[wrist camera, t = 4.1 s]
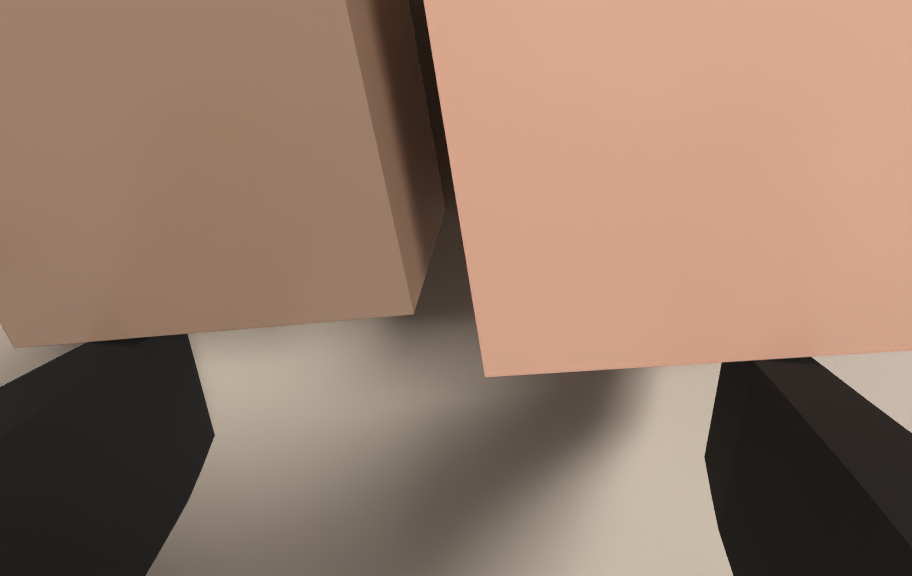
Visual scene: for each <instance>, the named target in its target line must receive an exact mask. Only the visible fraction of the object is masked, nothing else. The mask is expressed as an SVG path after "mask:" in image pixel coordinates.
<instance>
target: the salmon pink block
mask: <svg viewBox="0 0 912 576" xmlns="http://www.w3.org/2000/svg"><path fill="white" fill-rule="evenodd" d="M423 1H424V7H425V13H426V19H427V25H428V31H429V37H430V44H431V50H432V56H433V62H434V68H435V74H436V80H437V86H438V93H439V99H440V105H441V111H442V117H443V123H444V129H445V135H446V142H447V148H448V154H449V160H450V166H451V172H452V178H453V184H454V191H455V197H456V203H457V209H458V215H459V221H460V227H461V233H462V240H463V246H464V252H465V258H466V264H467V270H468V276H469V282H470V289H471V295H472V301H473V307H474V313H475V319H476V325H477V331H478V338H479V344H480V350H481V356H482V362H483V368H484V374H485V377H498V376H514V375H529V374H545V373H561V372H577V371H593V370H608V369H624V368H640V367H656V366H672V365H687V364H703V363H719V362H735V361H751V360H767V359H782V358H798V357H814V356H830V355H846V354H861V353H877V352H893V351H909V350H912V0H423Z"/></svg>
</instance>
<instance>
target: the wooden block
mask: <svg viewBox="0 0 912 576" xmlns="http://www.w3.org/2000/svg"><path fill="white" fill-rule="evenodd" d="M445 211H446V208H445V202H444V196H443V191H442V185H441V179H440V174H439V168H438V163H437V157H436V151H435V146H434V140H433V134H432V129H431V123H430V118H429V112H428V106H427V101H426V95H425V89H424V84H423V78H422V73H421V67H420V61H419V56H418V50H417V44H416V39H415V33H414V28H413V22H412V16H411V11H410V5H409V0H0V323H1V325H2V327H3V329H4V331H5V332H6V334H7V336H8V338H9V340H10V341H11V343H12V345H13V347H14V348H23V347H34V346H46V345H58V344H70V343H82V342H94V341H105V340H117V339H129V338H141V337H153V336H165V335H176V334H188V333H200V332H212V331H224V330H235V329H247V328H259V327H271V326H283V325H295V324H306V323H318V322H330V321H342V320H354V319H365V318H377V317H389V316H401V315H413V314H414V312H415V309H416V306H417V302H418V299H419V296H420V293H421V289H422V286H423V283H424V280H425V276H426V273H427V270H428V266H429V263H430V260H431V257H432V253H433V250H434V247H435V244H436V240H437V237H438V234H439V231H440V227H441V224H442V221H443V217H444V214H445Z"/></svg>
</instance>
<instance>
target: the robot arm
mask: <svg viewBox="0 0 912 576" xmlns="http://www.w3.org/2000/svg"><path fill="white" fill-rule="evenodd" d="M214 436H215V435H214V431H213V428H212V424H211V420H210V416H209V413H208V409H207V405H206V401H205V398H204V394H203V390H202V387H201V383H200V379H199V375H198V372H197V368H196V364H195V360H194V357H193V353H192V349H191V346H190V342H189V338H188V334H176V335H165V336H153V337H141V338H129V339H117V340H105V341H94V342H87V343H85V344H83V345H81V346H79V347H77V348H75V349H73V350H71V351H69V352H67V353H65V354H63V355H61V356H60V357H58V358H56V359H54V360H52V361H50V362H48V363H46V364H44V365H42V366H40V367H38V368H36V369H34V370H32V371H30V372H29V373H27V374H25V375H23V376H21V377H19V378H17V379H15V380H13V381H11V382H9V383H7V384H5V385H3V386H1V387H0V576H145V575H146V574H147V572H148V570H149V569H150V567H151V565H152V563H153V562H154V560H155V558H156V557H157V555H158V553H159V551H160V550H161V548H162V546H163V544H164V543H165V541H166V539H167V537H168V536H169V534H170V532H171V530H172V529H173V527H174V525H175V523H176V522H177V520H178V518H179V516H180V514H181V513H182V511H183V509H184V507H185V505H186V504H187V502H188V500H189V498H190V495H191V493H192V491H193V488H194V486H195V484H196V481H197V479H198V477H199V474H200V472H201V469H202V467H203V464H204V462H205V459H206V456H207V454H208V451H209V449H210V446H211V443H212V441H213V438H214ZM705 462H706V468H707V473H708V479H709V484H710V490H711V495H712V500H713V505H714V510H715V515H716V519H717V524H718V529H719V532H720V535H721V539H722V542H723V545H724V548H725V551H726V554H727V557H728V560H729V563H730V566H731V569H732V572H733V576H912V433H911V432H909V431H908V430H907V429H905V428H904V427H903V426H901V425H900V424H899V423H897V422H896V421H895V420H893V419H892V418H891V417H889V416H888V415H886V414H885V413H884V412H882V411H881V410H880V409H879V408H877V407H876V406H875V405H873V404H872V403H871V402H869V401H868V400H867V399H865V398H864V397H863V396H861V395H860V394H859V393H857V392H856V391H855V390H854V389H852V388H851V387H850V386H848V385H847V384H846V383H844V382H843V381H842V380H841V379H839V378H838V377H837V376H835V375H834V374H833V373H831V372H830V371H829V370H828V369H826V368H825V367H824V366H822V365H821V364H820V363H818V362H817V361H816V360H814V359H813V358H812V357H798V358H782V359H767V360H751V361H735V362H722V364H721V370H720V375H719V381H718V386H717V392H716V397H715V402H714V408H713V413H712V419H711V424H710V430H709V435H708V441H707V446H706V452H705Z"/></svg>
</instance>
